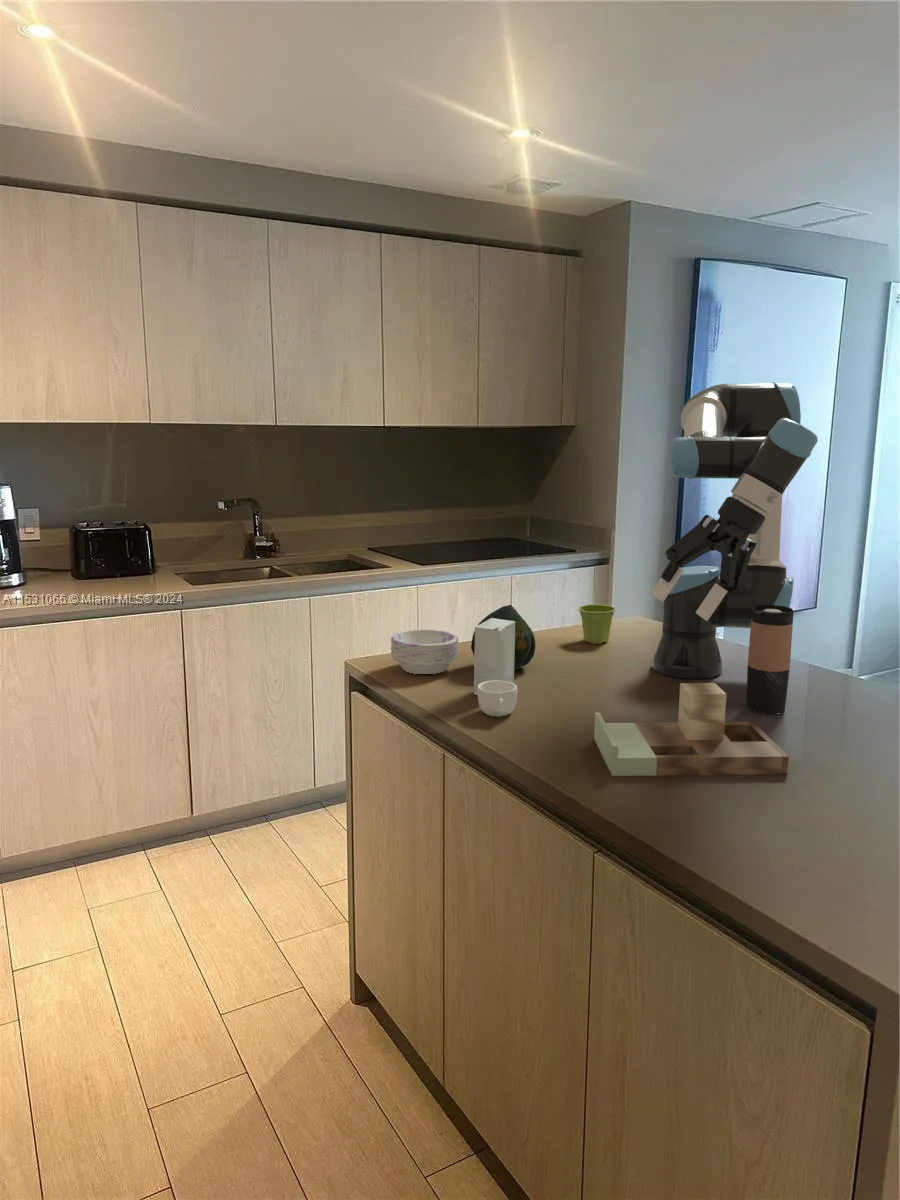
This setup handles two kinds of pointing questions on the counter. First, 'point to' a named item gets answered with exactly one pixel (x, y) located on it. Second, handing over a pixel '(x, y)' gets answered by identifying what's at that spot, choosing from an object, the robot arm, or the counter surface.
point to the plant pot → (596, 622)
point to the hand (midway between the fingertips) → (679, 607)
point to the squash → (522, 635)
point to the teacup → (497, 697)
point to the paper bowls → (424, 650)
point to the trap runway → (714, 751)
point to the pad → (624, 748)
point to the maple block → (702, 711)
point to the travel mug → (769, 658)
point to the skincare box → (494, 651)
